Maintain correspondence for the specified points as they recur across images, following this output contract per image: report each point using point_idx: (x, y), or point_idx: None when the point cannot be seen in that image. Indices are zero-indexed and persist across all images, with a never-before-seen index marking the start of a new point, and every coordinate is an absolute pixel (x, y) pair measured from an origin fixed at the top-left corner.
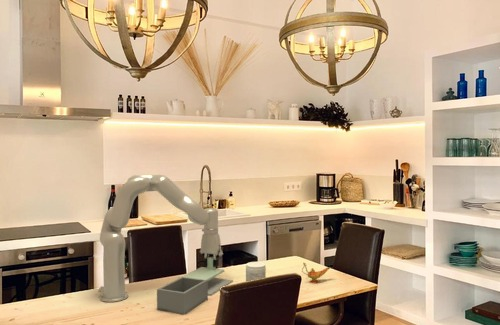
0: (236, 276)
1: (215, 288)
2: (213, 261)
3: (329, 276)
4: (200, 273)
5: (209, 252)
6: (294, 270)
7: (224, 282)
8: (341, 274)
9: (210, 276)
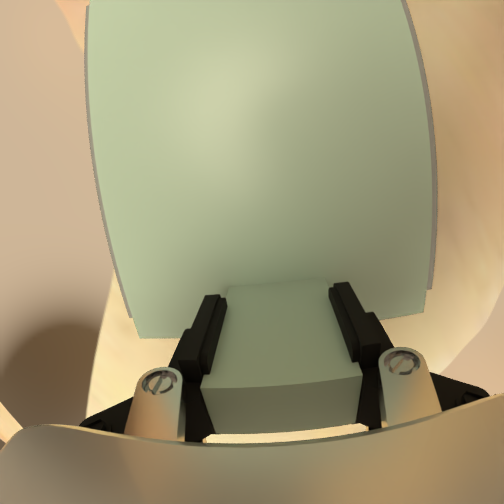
0: None
1: None
2: (197, 338)
3: (3, 430)
4: (280, 68)
5: (227, 475)
6: None
7: None
8: None
9: (102, 53)
